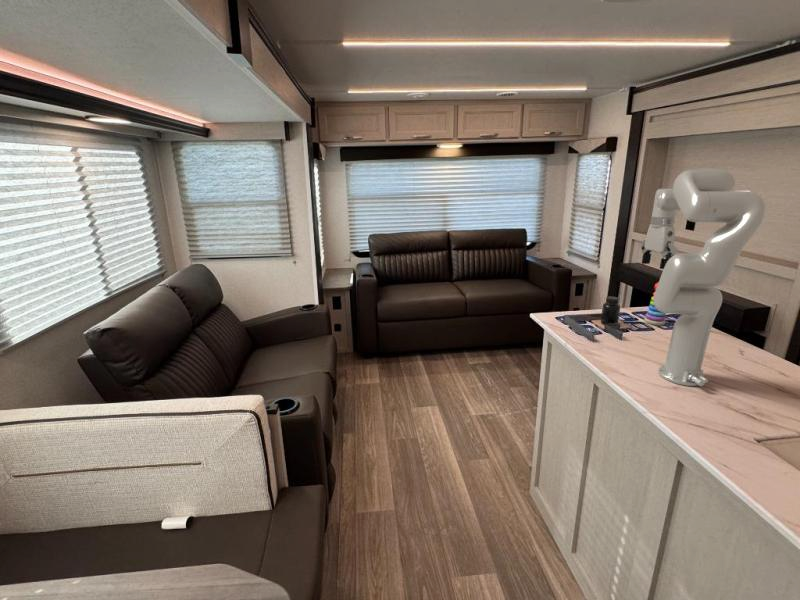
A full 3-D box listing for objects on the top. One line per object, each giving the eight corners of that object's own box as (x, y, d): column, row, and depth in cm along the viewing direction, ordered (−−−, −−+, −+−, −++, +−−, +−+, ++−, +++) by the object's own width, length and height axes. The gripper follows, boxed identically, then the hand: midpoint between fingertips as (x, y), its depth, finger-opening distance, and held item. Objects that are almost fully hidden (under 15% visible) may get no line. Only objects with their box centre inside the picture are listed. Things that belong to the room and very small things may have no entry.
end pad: (630, 328, 173) (630, 327, 173) (604, 329, 172) (604, 328, 172) (616, 319, 183) (616, 318, 183) (591, 321, 182) (591, 320, 181)
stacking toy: (668, 326, 175) (677, 284, 169) (650, 326, 175) (658, 284, 169) (658, 319, 182) (666, 279, 176) (640, 319, 182) (647, 279, 177)
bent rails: (634, 339, 162) (635, 332, 161) (591, 341, 160) (592, 335, 160) (601, 319, 184) (602, 313, 183) (563, 321, 182) (563, 315, 181)
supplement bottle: (612, 320, 180) (616, 295, 177) (620, 326, 174) (625, 300, 170) (597, 321, 180) (601, 295, 176) (605, 327, 174) (609, 300, 170)
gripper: (689, 224, 146) (680, 270, 151) (654, 219, 163) (647, 261, 168) (671, 224, 145) (662, 271, 150) (637, 220, 162) (630, 262, 167)
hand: (654, 266), depth 159 cm, fingers open, 9 cm apart
